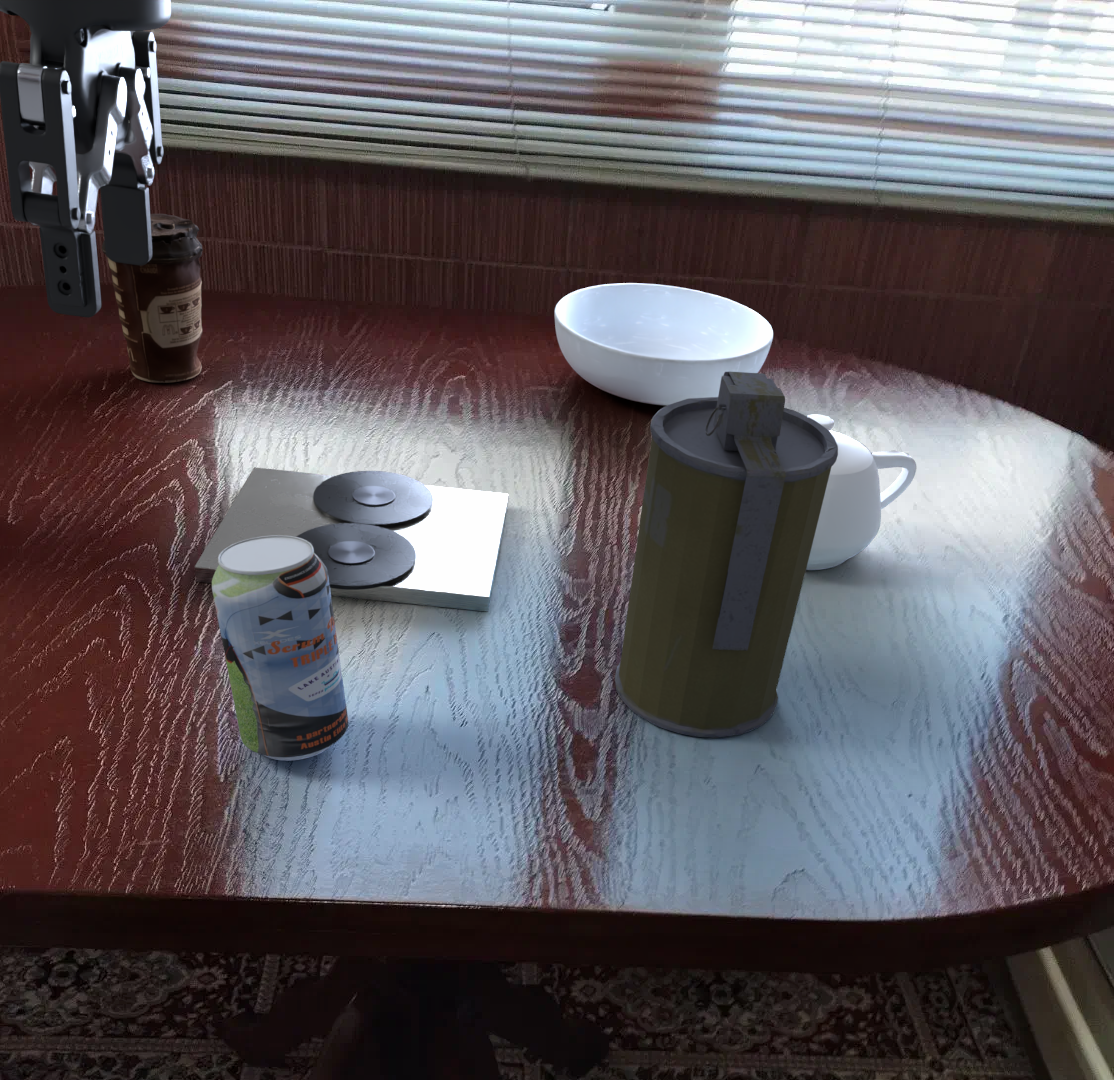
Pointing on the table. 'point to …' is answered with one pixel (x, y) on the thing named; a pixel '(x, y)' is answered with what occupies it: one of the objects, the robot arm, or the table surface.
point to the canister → (721, 557)
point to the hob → (375, 533)
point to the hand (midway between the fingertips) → (104, 286)
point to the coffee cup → (162, 303)
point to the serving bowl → (658, 340)
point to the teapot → (854, 498)
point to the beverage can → (280, 646)
